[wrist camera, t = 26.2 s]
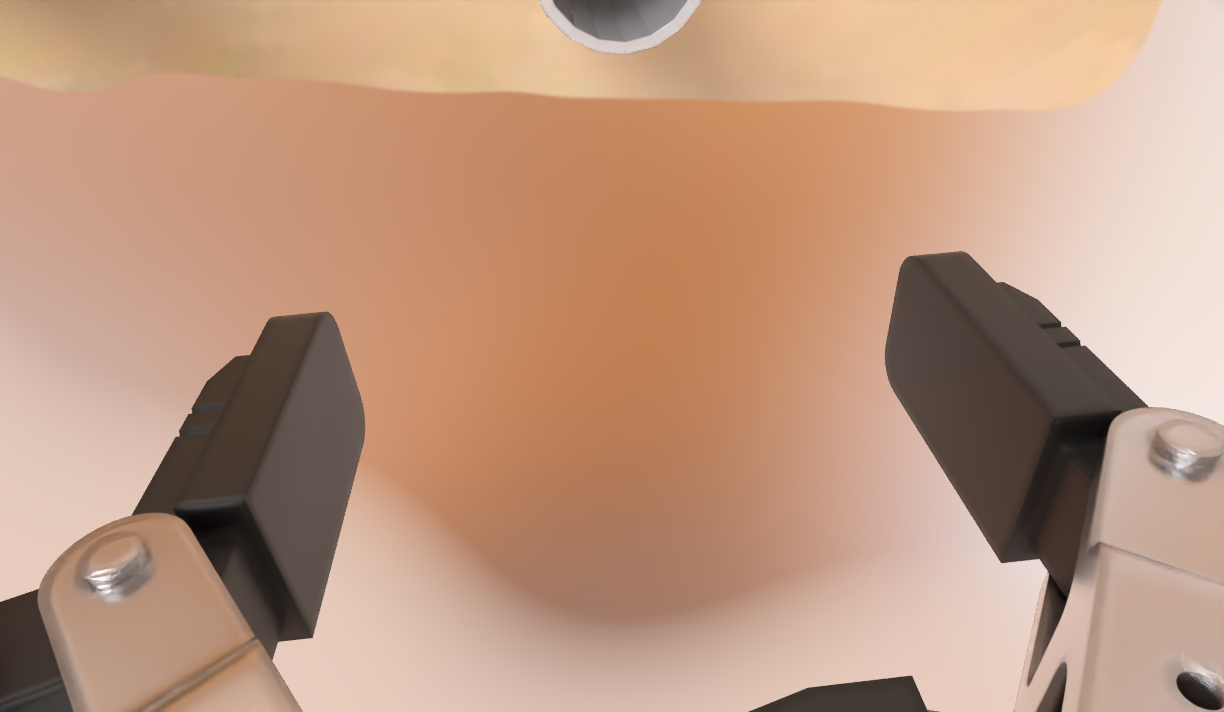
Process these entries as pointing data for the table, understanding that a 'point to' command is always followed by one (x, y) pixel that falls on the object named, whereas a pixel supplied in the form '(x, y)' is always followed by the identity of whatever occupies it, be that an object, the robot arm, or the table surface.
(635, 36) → the tumbler
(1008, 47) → the table surface
